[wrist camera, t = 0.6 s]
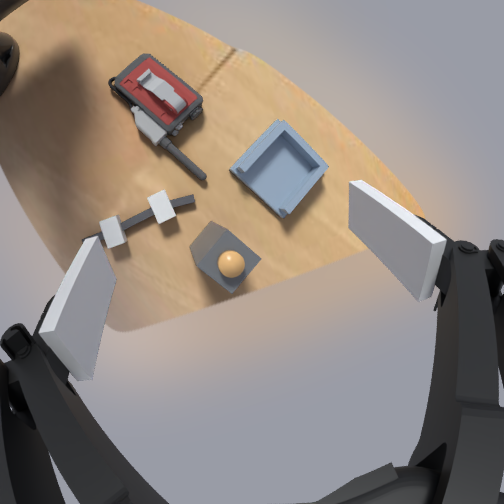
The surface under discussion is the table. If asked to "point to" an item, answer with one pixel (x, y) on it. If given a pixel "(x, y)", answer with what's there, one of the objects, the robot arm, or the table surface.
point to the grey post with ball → (223, 256)
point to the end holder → (280, 167)
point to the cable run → (140, 218)
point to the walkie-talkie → (159, 103)
